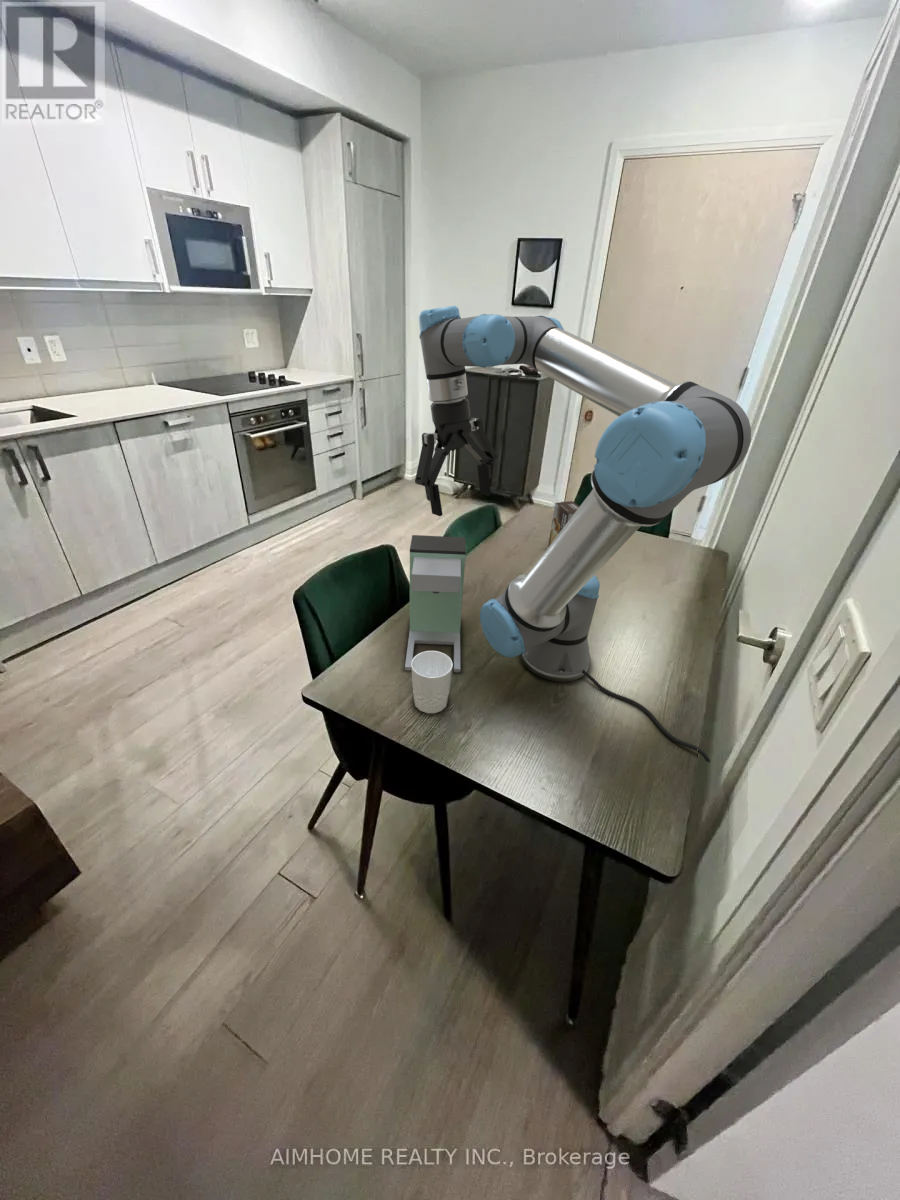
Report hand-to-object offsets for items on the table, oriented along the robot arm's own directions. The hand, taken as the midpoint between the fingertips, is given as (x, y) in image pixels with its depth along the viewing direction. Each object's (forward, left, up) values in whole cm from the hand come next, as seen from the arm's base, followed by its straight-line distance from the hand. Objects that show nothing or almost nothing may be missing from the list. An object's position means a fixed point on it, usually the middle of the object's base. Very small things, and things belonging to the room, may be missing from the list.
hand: (462, 504), depth 105 cm
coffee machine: (-3, +10, -31) cm, 33 cm away
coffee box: (+3, -51, -31) cm, 60 cm away
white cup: (-17, +24, -31) cm, 42 cm away
